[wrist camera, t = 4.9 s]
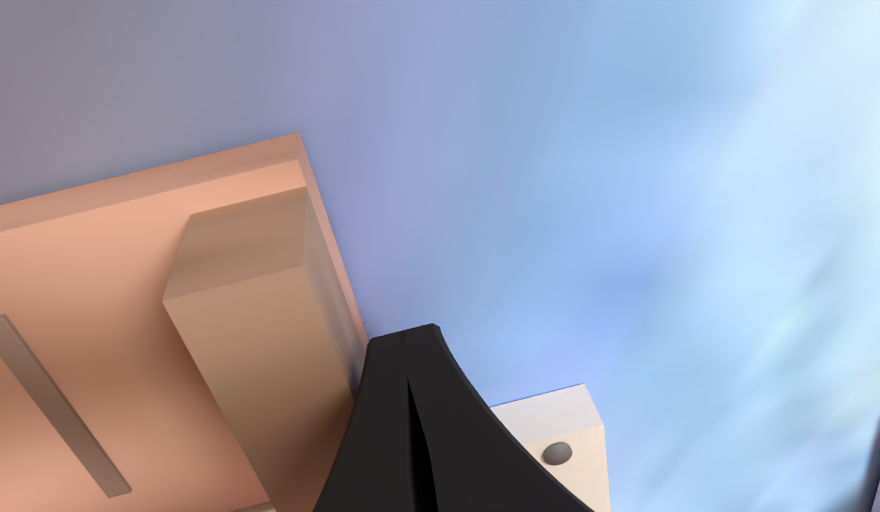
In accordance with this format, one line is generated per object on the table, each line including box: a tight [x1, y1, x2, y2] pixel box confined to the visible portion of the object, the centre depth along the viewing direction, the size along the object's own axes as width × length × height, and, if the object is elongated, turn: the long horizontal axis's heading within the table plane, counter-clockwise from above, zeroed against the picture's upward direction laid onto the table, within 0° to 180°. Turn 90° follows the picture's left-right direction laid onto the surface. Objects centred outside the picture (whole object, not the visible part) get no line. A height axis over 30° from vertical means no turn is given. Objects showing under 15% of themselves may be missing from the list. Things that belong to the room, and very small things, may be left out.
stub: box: [0, 132, 369, 512], centre depth 13 cm, size 8×9×4 cm
